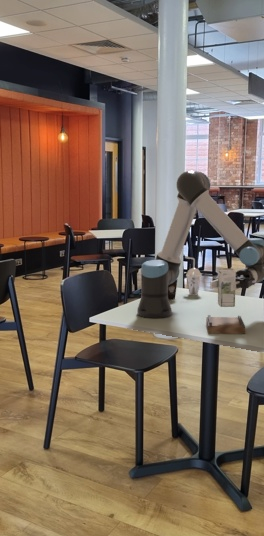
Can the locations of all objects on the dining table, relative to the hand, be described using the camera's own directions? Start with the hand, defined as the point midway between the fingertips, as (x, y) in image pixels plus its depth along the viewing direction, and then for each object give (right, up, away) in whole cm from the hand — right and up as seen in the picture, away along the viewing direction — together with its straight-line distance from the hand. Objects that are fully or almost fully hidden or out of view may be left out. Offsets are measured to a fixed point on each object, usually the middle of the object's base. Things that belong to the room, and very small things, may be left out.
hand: (221, 286), depth 203 cm
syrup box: (+3, -8, +5) cm, 10 cm away
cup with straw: (-2, -7, +75) cm, 75 cm away
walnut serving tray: (+3, -17, +7) cm, 19 cm away
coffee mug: (-17, -9, +64) cm, 67 cm away
